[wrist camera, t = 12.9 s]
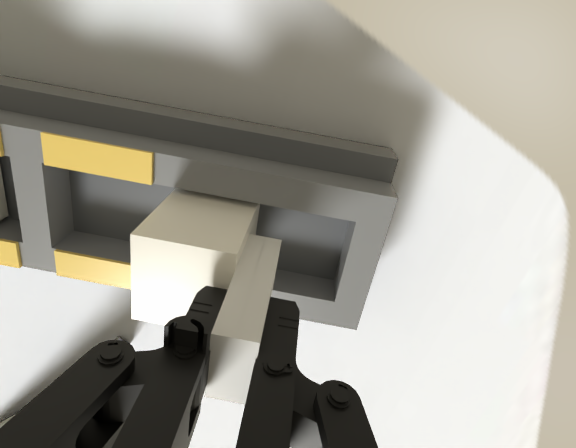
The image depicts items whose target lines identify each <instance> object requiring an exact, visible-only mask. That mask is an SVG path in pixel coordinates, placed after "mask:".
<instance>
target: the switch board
mask: <svg viewBox="0 0 576 448" xmlns="http://www.w3.org/2000/svg"><path fill="white" fill-rule="evenodd" d="M397 162H398V158H397V157H396V155H395V153H394V151H393V150H392V149H391V148H386V147H381V146H375V145H370V144H365V143H359V142H354V141H348V140H343V139H338V138H332V137H327V136H322V135H316V134H311V133H306V132H300V131H295V130H290V129H284V128H279V127H274V126H268V125H263V124H258V123H252V122H247V121H242V120H236V119H231V118H226V117H220V116H215V115H210V114H204V113H199V112H194V111H188V110H183V109H178V108H172V107H167V106H162V105H156V104H151V103H146V102H140V101H135V100H130V99H124V98H119V97H114V96H108V95H103V94H98V93H92V92H87V91H82V90H76V89H71V88H66V87H60V86H55V85H50V84H44V83H39V82H34V81H28V80H23V79H18V78H12V77H7V76H2V75H0V167H1V173H2V179H3V185H4V191H5V197H6V203H7V209H8V215H9V216H7V217H5V218H4V219H2V220H0V265H5V266H11V267H16V268H20V267H22V266H24V267H29V268H34V269H40V270H45V271H50V272H55V273H57V275H58V276H63V277H68V278H74V279H79V280H84V281H89V282H94V283H100V284H105V285H110V286H115V287H121V288H126V289H131V254H130V234H131V233H132V232H133V231H134V230H135V229H136V228H137V227H138V226H139V225H140V224H141V223H142V222H143V221H144V220H145V219H146V218H147V217H148V216H149V215H150V214H151V213H152V212H153V211H154V210H155V209H156V208H157V207H158V206H159V205H160V204H161V203H162V202H163V201H164V200H165V199H166V198H167V197H168V196H169V195H170V194H171V193H172V192H173V190H174V189H175V188H179V189H184V190H189V191H194V192H200V193H205V194H210V195H216V196H221V197H226V198H232V199H237V200H242V201H247V202H253V203H258V204H260V209H259V215H258V222H257V229H256V235H258V236H263V237H269V238H274V239H279V240H282V242H281V247H280V252H279V258H278V263H277V269H276V274H275V280H274V285H273V290H272V295H271V297H274V298H279V299H285V300H290V301H295V302H296V304H297V306H298V308H299V310H300V315H299V319H302V320H307V321H312V322H317V323H323V324H328V325H333V326H338V327H344V328H349V329H354V330H357V327H358V323H359V320H360V317H361V314H362V311H363V308H364V304H365V301H366V298H367V295H368V292H369V289H370V285H371V282H372V279H373V276H374V273H375V269H376V266H377V263H378V260H379V257H380V254H381V250H382V247H383V244H384V241H385V238H386V235H387V231H388V228H389V225H390V222H391V219H392V215H393V212H394V209H395V206H396V203H397V200H398V197H397V195H396V193H395V191H394V188H393V186H392V184H391V182H392V179H393V175H394V172H395V169H396V165H397Z"/></svg>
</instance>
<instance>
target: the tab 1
mask: <svg viewBox="0 0 576 448" xmlns="http://www.w3.org/2000/svg"><path fill="white" fill-rule="evenodd" d="M7 216H9V215H8V209H7V203H6V197H5V191H4V185H3V179H2V173H1V167H0V220H2V219H4V218H5V217H7Z"/></svg>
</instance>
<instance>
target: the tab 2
mask: <svg viewBox="0 0 576 448" xmlns="http://www.w3.org/2000/svg"><path fill="white" fill-rule="evenodd" d="M259 209H260V204H258V203H253V202H247V201H242V200H237V199H232V198H226V197H221V196H216V195H210V194H205V193H200V192H194V191H189V190H184V189H179V188H175V189H174V190H173V192H172V193H171V194H170V195H169V196H168V197H167V198H166V199H165V200H164V201H163V202H162V203H161V204H160V205H159V206H158V207H157V208H156V209H155V210H154V211H153V212H152V213H151V214H150V215H149V216H148V217H147V218H146V219H145V220H144V221H143V222H142V223H141V224H140V225H139V226H138V227H137V228H136V229H135V230H134V231H133V232H132V233H131V234H130V254H131V319H135V320H140V321H145V322H150V323H155V324H161V325H166V324H167V323H168V322H169V321H170V320H172V319H174V318H175V317H179V316H184V315H185V316H186V314H187V312H188V310H189V308H190V306H191V304H192V302H193V300H194V298H195V296H196V294H197V292H198V291H200V290H201V289H202V288H204V287H205V286H211V287H217V288H222V289H227V290H228V288H229V285H230V283H231V280H232V278H233V275H234V272H235V270H236V267H237V265H238V262H239V259H240V257H241V254H242V252H243V249H244V247H245V244H246V241H247V239H248V236H249V234H253V235H256V229H257V222H258V215H259Z"/></svg>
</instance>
